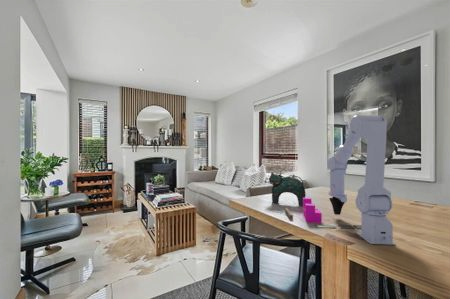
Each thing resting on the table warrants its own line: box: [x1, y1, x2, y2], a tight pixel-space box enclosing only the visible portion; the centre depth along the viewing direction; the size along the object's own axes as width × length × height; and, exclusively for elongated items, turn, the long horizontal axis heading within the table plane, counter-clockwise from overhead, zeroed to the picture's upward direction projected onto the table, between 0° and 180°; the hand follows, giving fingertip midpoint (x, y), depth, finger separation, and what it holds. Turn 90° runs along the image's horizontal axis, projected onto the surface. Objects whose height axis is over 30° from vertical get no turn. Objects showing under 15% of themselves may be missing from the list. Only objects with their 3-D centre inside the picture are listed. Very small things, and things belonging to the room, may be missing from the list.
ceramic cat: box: [268, 168, 306, 207], centre depth 126 cm, size 20×6×20 cm, turn 67°
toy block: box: [302, 197, 323, 224], centre depth 102 cm, size 15×6×8 cm, turn 165°
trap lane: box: [284, 207, 362, 230], centre depth 98 cm, size 21×29×2 cm
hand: (337, 214), depth 100 cm, fingers closed
